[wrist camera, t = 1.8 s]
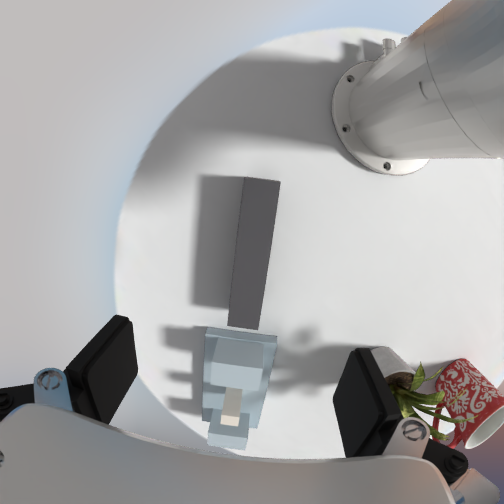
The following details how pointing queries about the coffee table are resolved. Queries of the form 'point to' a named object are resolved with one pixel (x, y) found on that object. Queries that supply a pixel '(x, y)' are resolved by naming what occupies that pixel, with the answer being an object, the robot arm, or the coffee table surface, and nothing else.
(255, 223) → the dark grey bar
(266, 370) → the display stand
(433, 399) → the house plant
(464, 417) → the mug
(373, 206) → the coffee table surface
